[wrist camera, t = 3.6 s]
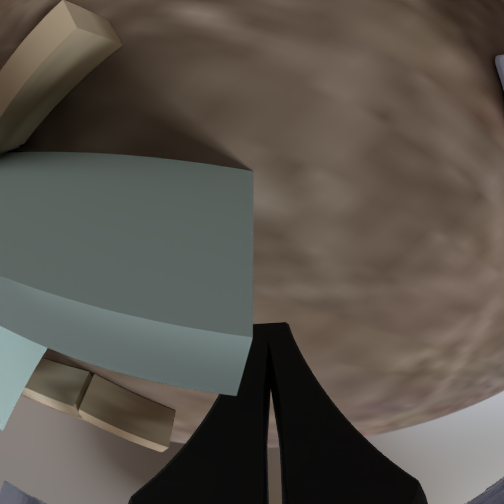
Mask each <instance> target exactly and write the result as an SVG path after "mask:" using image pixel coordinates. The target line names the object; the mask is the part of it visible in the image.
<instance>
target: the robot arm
mask: <svg viewBox="0 0 504 504" xmlns="http://www.w3.org/2000/svg"><path fill="white" fill-rule="evenodd" d="M495 64H496V68H497V71H498V74H499V77H500V80H501V83H502V86H503V90H504V55H497V56H496V58H495ZM270 383H271V384H270ZM270 391H271V393H272V399H273V406H274V412H275V419H276V425H277V431H278V438H279V446H280V461H281V483H282V504H428V503H427V499H426V496H425V494H424V491H423V489H422V487H421V485H420V483H419V481H418V480H417V479H415V478H414V477H412V476H411V475H409V474H408V473H407V472H405V471H404V470H402V469H401V468H400V467H398V466H397V465H396V464H394V463H393V462H392V461H390V460H389V459H388V458H387V457H386V456H384V455H383V454H382V453H381V452H380V451H378V450H377V449H376V448H375V447H374V446H373V445H372V444H371V443H370V442H369V441H368V440H367V439H366V438H365V437H364V436H363V435H362V434H361V433H360V432H358V431H357V430H356V429H355V427H354V426H353V425H352V424H351V423H350V422H349V421H348V420H347V419H346V417H345V416H344V415H343V414H342V413H341V412H340V410H339V409H338V408H337V407H336V406H335V404H334V403H333V402H332V400H331V399H330V398H329V396H328V395H327V394H326V392H325V391H324V389H323V388H322V387H321V385H320V384H319V382H318V381H317V379H316V378H315V376H314V375H313V373H312V371H311V370H310V368H309V366H308V364H307V363H306V361H305V359H304V358H303V356H302V354H301V352H300V350H299V348H298V346H297V344H296V342H295V340H294V337H293V335H292V333H291V330H290V327H289V324H287V323H286V322H282V323H267V324H253V338H252V342H251V346H250V349H249V353H248V357H247V360H246V364H245V367H244V371H243V375H242V378H241V382H240V385H239V389H238V392H237V396H233V395H225V394H219V396H218V397H217V399H216V401H215V402H214V404H213V406H212V407H211V409H210V411H209V412H208V414H207V415H206V417H205V418H204V420H203V421H202V423H201V424H200V425H199V427H198V428H197V429H196V431H195V432H194V433H193V435H192V436H191V437H190V439H189V440H188V441H187V443H186V444H185V445H184V446H183V447H182V449H181V450H180V451H179V452H178V453H177V454H176V455H175V456H174V457H173V458H172V460H170V462H169V463H168V464H167V465H166V466H165V467H164V468H163V469H162V470H161V471H160V472H159V473H158V474H157V475H156V476H155V477H154V478H152V479H151V480H150V481H149V482H148V483H147V484H145V485H144V486H143V487H142V488H141V489H139V490H138V491H137V492H136V493H135V494H133V496H131V498H130V500H129V503H128V504H269V491H268V460H267V440H268V425H269V409H270ZM0 504H46V503H45V502H43V501H41V500H39V499H37V498H35V497H32V496H30V495H28V494H27V493H25V492H23V491H21V490H20V489H18V488H17V487H15V486H13V485H12V484H10V483H9V482H7V481H4V482H3V486H2V489H1V492H0ZM466 504H504V477H503V478H501V479H500V480H499V481H498V482H496V483H495V484H493V485H492V486H490V487H489V488H487V489H486V490H485V492H483V493H482V494H480V495H479V496H477V497H476V498H474V499H472V500H471V501H469V502H467V503H466Z"/></svg>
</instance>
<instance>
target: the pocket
mask: <svg viewBox="0 0 504 504" xmlns="http://www.w3.org/2000/svg"><path fill="white" fill-rule="evenodd" d="M122 46H123V44H122V43H121V41H120V39H119V38H118V36H117V34H116V33H115V31H114V29H113V27H112V26H111V24H110V22H109V21H108V20H107V19H105V18H103V17H101V16H99V15H97V14H95V13H92V12H90V11H88V10H86V9H84V8H82V7H79V6H77V5H75V4H72V3H70V2H68V1H65V0H62V1H61V2H60V3H59V4H58V5H57V6H56V7H55V8H53V9H52V10H51V11H50V12H49V13H48V14H47V15H46V16H45V17H44V18H43V20H42V21H41V22H40V23H39V24H38V25H37V26H36V27H35V28H34V29H33V30H32V31H31V33H30V34H29V35H28V36H27V37H26V38H25V39H24V41H23V42H22V43H21V44H20V46H19V47H18V48H17V49H16V50H15V52H14V53H13V54H12V56H11V57H10V58H9V60H8V61H7V62H6V64H5V65H4V66H3V68H2V69H1V71H0V154H1V153H4V152H7V151H9V150H13V149H16V148H19V145H21V144H24V143H25V142H26V141H27V139H28V138H29V137H30V136H31V134H32V133H33V132H34V131H35V129H36V128H37V127H38V126H39V125H40V123H41V122H42V121H43V120H44V119H45V117H46V116H47V115H48V114H49V113H50V112H51V111H52V110H53V108H54V107H55V106H56V105H57V104H58V103H59V102H60V101H61V100H62V99H63V98H64V97H65V96H66V95H67V94H68V93H69V92H70V91H71V90H72V89H73V88H74V87H75V86H76V85H77V84H78V83H79V82H80V81H81V80H82V79H83V78H84V77H85V76H87V75H88V74H89V73H90V72H91V71H92V70H93V69H94V68H96V67H97V66H98V65H99V64H100V63H101V62H103V61H104V60H105V59H106V58H108V57H109V56H110V55H111V54H113V53H114V52H115V51H116V50H118V49H119V48H120V47H122ZM22 394H24V395H26V396H28V397H30V398H32V399H34V400H37V401H39V402H41V403H44V404H46V405H48V406H51V407H53V408H56V409H58V410H61V411H64V412H66V413H69V414H72V415H75V416H77V417H80V418H82V419H84V420H86V421H88V422H90V423H92V424H94V425H96V426H98V427H100V428H102V429H105V430H107V431H109V432H111V433H113V434H116V435H118V436H120V437H123V438H125V439H127V440H130V441H132V442H135V443H138V444H140V445H143V446H145V447H148V448H151V449H154V450H157V451H160V452H163V451H164V450H166V449H167V448H169V443H170V437H171V432H172V427H173V422H174V417H175V412H176V411H175V410H173V409H170V408H167V407H165V406H162V405H160V404H157V403H155V402H153V401H150V400H148V399H145V398H143V397H141V396H139V395H136V394H134V393H132V392H130V391H128V390H126V389H124V388H121V387H119V386H117V385H115V384H113V383H111V382H109V381H107V380H105V379H104V378H102V377H100V376H98V375H96V374H94V376H93V377H92V375H91V374H90V372H89V371H85V370H81V369H77V368H74V367H70V366H67V365H63V364H60V363H57V362H53V361H50V360H47V359H44V358H41V360H40V361H39V363H38V365H37V366H36V368H35V370H34V371H33V373H32V375H31V377H30V378H29V380H28V382H27V384H26V385H25V387H24V389H23V391H22Z"/></svg>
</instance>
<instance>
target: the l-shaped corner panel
mask: <svg viewBox="0 0 504 504" xmlns="http://www.w3.org/2000/svg"><path fill="white" fill-rule="evenodd" d="M252 338H253V171H249V170H243V169H237V168H231V167H225V166H218V165H211V164H204V163H197V162H190V161H182V160H173V159H164V158H155V157H144V156H133V155H120V154H104V153H83V152H12V153H1V154H0V429H1V430H2V431H3V429H4V427H5V425H6V423H7V420H8V418H9V416H10V414H11V412H12V410H13V408H14V406H15V404H16V402H17V400H18V398H19V397H20V395H21V393H22V391H23V389H24V387H25V385H26V384H27V382H28V380H29V378H30V377H31V375H32V373H33V371H34V370H35V368H36V366H37V365H38V363H39V361H40V360H41V358H42V356H43V355H44V353H45V352H46V350H47V348H49V349H52V350H54V351H57V352H59V353H62V354H64V355H67V356H70V357H72V358H75V359H78V360H81V361H84V362H87V363H90V364H93V365H96V366H99V367H102V368H105V369H109V370H112V371H115V372H119V373H122V374H126V375H130V376H133V377H137V378H141V379H145V380H149V381H154V382H158V383H162V384H167V385H172V386H177V387H182V388H187V389H193V390H199V391H205V392H211V393H218V394H225V395H233V396H237V392H238V389H239V385H240V382H241V378H242V375H243V371H244V367H245V364H246V360H247V357H248V353H249V349H250V346H251V342H252Z"/></svg>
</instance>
